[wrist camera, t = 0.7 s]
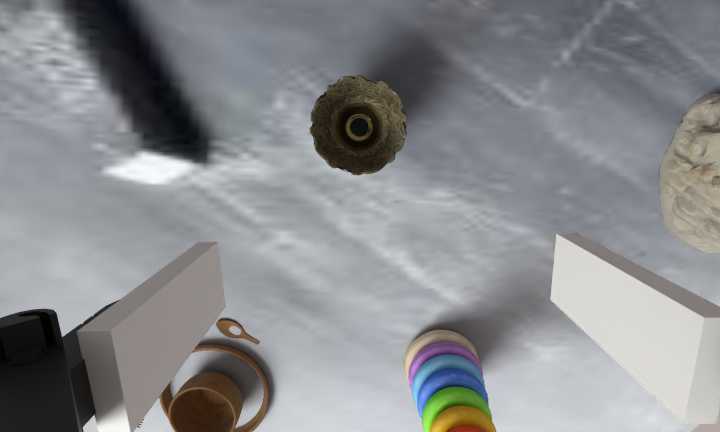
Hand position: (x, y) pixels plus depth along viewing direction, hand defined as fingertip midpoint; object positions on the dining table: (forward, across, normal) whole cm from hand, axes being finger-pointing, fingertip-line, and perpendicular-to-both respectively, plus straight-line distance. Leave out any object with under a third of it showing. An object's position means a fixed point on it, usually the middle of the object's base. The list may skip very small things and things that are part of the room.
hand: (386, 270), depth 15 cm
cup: (+24, -1, +5) cm, 25 cm away
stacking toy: (+24, +7, -20) cm, 32 cm away
